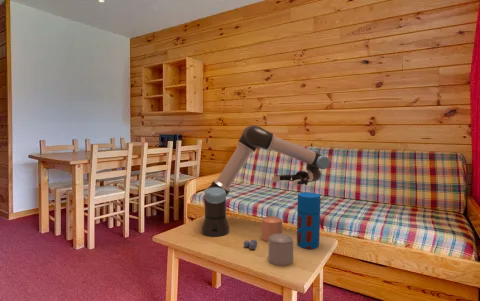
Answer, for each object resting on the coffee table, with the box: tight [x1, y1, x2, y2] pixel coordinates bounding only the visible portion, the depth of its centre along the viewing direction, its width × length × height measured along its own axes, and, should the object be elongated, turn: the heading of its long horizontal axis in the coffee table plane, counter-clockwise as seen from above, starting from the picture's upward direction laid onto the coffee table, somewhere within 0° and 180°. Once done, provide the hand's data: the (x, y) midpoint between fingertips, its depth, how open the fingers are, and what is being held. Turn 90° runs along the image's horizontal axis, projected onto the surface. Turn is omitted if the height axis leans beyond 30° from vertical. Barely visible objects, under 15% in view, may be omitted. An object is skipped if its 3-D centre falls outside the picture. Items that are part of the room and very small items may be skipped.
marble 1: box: [243, 240, 251, 248], centre depth 141 cm, size 3×3×3 cm
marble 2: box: [250, 239, 258, 246], centre depth 142 cm, size 3×3×3 cm
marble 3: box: [248, 241, 257, 250], centre depth 138 cm, size 3×3×3 cm
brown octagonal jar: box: [267, 233, 294, 267], centre depth 127 cm, size 10×10×10 cm
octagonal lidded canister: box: [261, 215, 283, 243], centre depth 152 cm, size 10×10×10 cm
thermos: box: [296, 192, 321, 250], centre depth 143 cm, size 11×11×25 cm
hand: (282, 181), depth 155 cm, fingers open, 13 cm apart
